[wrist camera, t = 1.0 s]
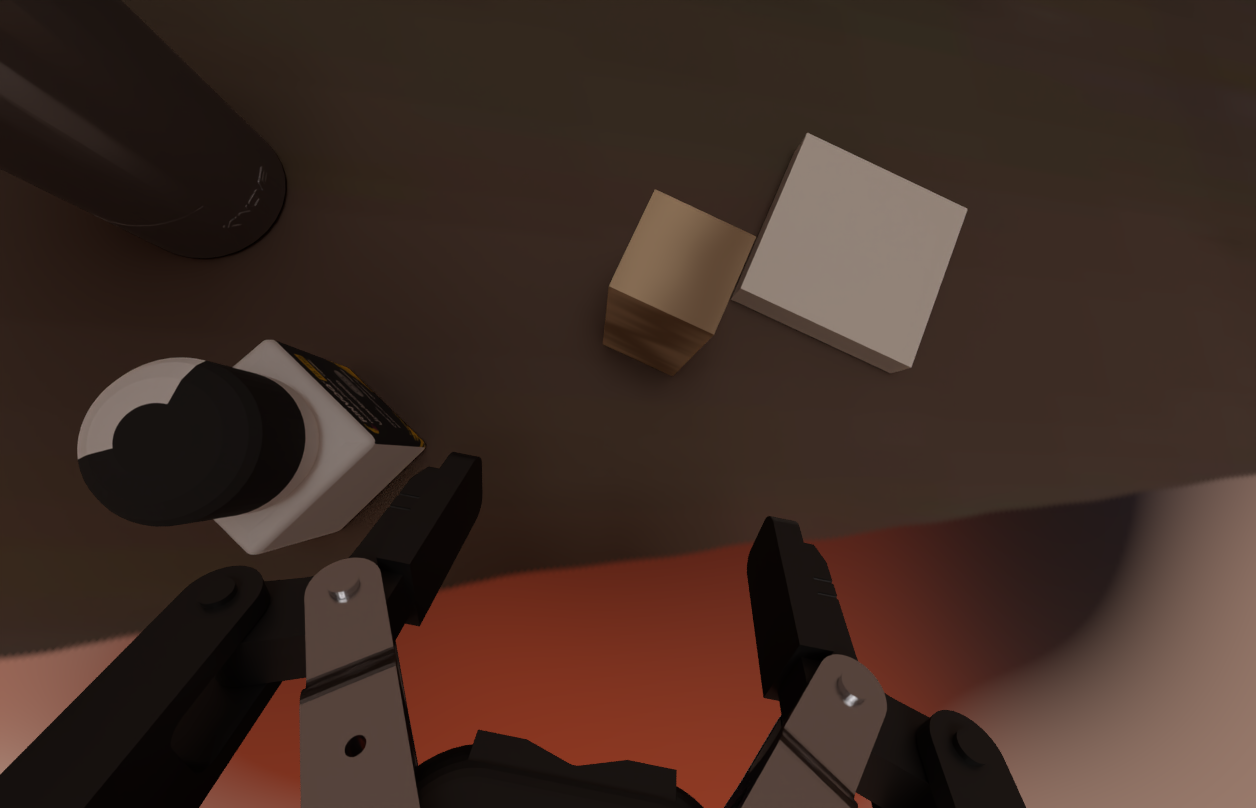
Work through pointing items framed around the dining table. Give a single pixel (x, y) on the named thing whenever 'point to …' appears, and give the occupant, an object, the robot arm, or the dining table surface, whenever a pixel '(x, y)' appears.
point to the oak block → (673, 283)
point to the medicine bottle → (243, 445)
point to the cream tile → (851, 255)
